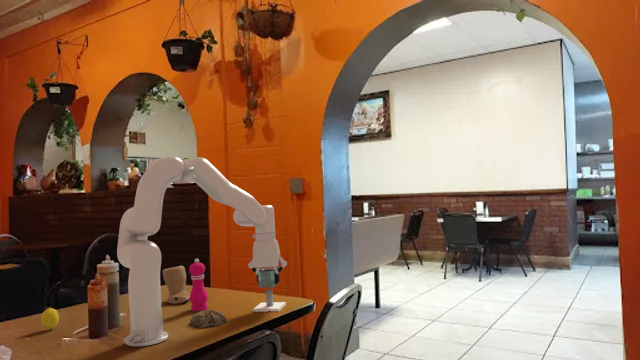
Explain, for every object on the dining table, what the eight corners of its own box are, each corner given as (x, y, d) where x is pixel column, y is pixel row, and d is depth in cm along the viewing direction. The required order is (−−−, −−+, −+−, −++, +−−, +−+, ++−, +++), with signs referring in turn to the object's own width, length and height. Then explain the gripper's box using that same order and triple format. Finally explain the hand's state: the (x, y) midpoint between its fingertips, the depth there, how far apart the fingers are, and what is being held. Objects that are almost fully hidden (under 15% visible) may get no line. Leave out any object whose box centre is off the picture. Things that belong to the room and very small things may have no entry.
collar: (274, 287, 178) (273, 271, 178) (258, 287, 179) (257, 271, 179) (278, 283, 184) (277, 268, 184) (263, 284, 185) (262, 269, 185)
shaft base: (279, 311, 175) (277, 292, 176) (253, 311, 177) (252, 293, 177) (285, 304, 185) (284, 286, 185) (261, 305, 187) (260, 287, 187)
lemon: (39, 333, 166) (38, 310, 166) (44, 329, 171) (43, 306, 171) (57, 331, 167) (56, 308, 167) (61, 326, 172) (60, 305, 173)
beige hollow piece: (168, 298, 211) (166, 264, 212) (195, 296, 212) (193, 262, 213) (158, 306, 196) (157, 270, 197) (187, 304, 197) (185, 268, 197)
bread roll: (188, 322, 169) (187, 308, 169) (222, 316, 174) (221, 303, 174) (196, 331, 157) (195, 316, 157) (232, 324, 163) (231, 309, 163)
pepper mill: (211, 306, 190) (208, 256, 190) (205, 311, 183) (202, 259, 183) (193, 307, 190) (191, 257, 191) (187, 312, 183) (184, 260, 184)
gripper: (241, 239, 180) (243, 286, 179) (284, 237, 177) (287, 285, 176) (247, 237, 187) (250, 282, 187) (289, 235, 184) (292, 281, 184)
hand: (268, 283), depth 181 cm, fingers closed on collar, 6 cm apart
